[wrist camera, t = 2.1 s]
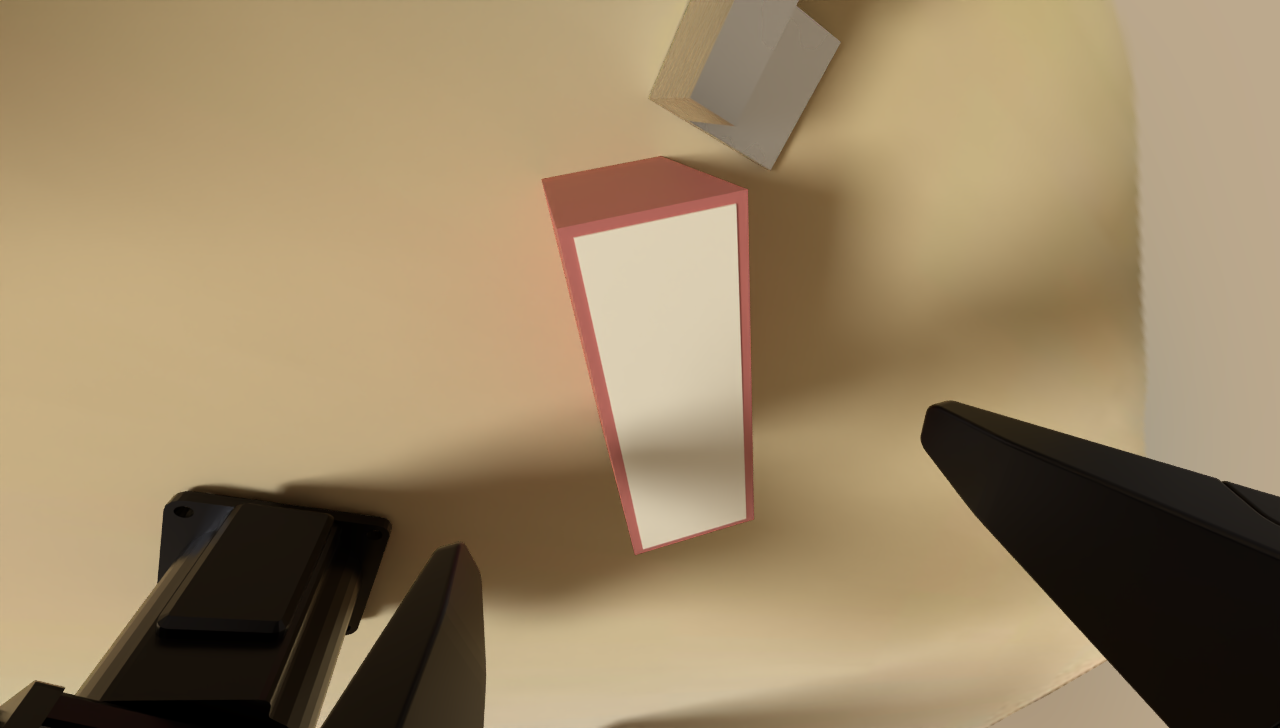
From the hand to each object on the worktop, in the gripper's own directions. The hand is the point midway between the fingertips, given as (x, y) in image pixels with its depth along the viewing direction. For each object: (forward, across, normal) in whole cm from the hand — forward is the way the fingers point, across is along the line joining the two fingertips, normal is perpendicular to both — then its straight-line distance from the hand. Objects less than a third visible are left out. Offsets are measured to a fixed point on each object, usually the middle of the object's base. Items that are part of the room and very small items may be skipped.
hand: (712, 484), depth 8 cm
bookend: (+8, -4, -6) cm, 11 cm away
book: (+8, 0, 0) cm, 8 cm away
